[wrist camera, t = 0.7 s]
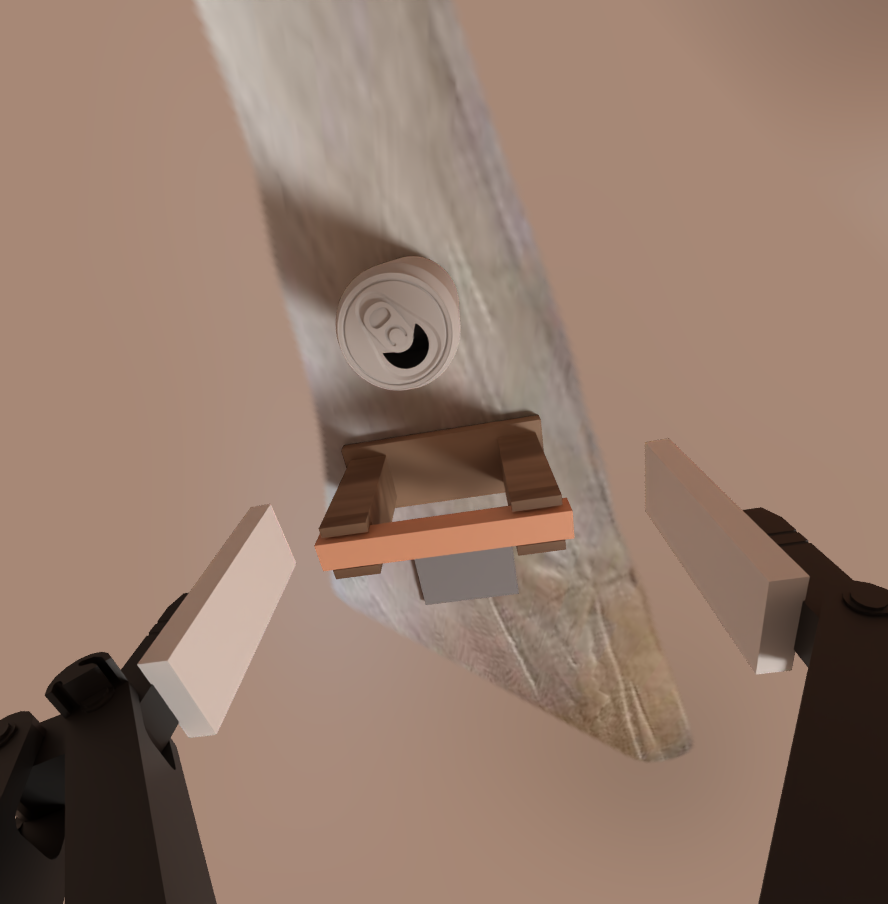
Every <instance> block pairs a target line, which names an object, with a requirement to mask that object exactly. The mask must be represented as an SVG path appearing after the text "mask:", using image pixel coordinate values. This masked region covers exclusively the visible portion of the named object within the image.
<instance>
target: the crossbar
mask: <svg viewBox="0 0 888 904" xmlns="http://www.w3.org/2000/svg"><path fill="white" fill-rule="evenodd" d="M572 538H574V527H573V513H572V509H571V506H570V504H569V502H568V500H567V498H562V505H559V506H551V507H544V508H537V509H530V510H522V511H515V512H512V507H511V506H504V507H497V508H490V509H483V510H476V511H468V512H461V513H454V514H447V515H440V516H433V517H425V518H418V519H411V520H404V521H397V522H390V523H382V524H375V525H370V527H369V531H368V532H363V533H356V534H349V535H342V536H334V537H327V538H322V537H321V534H320V535H319V537H318V539H317V541H316V543H315V549H316V552H317V555H318V557H319V560H320V563H321V566H322V569H323V571H328V570H336V569H344V568H351V567H359V566H366V565H374V564H382V563H389V562H397V561H404V560H412V559H420V558H427V557H435V556H443V555H450V554H458V553H465V552H473V551H481V550H488V549H496V548H503V547H511V546H519V545H526V544H534V543H541V542H549V541H557V540H564V539H572Z"/></svg>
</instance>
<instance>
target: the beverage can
mask: <svg viewBox="0 0 888 904" xmlns="http://www.w3.org/2000/svg"><path fill="white" fill-rule="evenodd" d="M460 330H461V328H460V311H459V297H458V292H457V289H456V286H455V284H454V282H453V280H452V278H451V277H450V275H449V274H448V273H447V272H446V271H445V270H444V269H443V268H442V267H441V266H440V265H438V264H437V263H435V262H433V261H431V260H429V259H426V258H423V257H418V256H407V257H402V258H398V259H395V260H392V261H389V262H386V263H383V264H379V265H376V266H374V267H371V268H369V269H367V270H365V271H364V272H362V273H361V274H359V275H358V276H357V277H356V278H355V279H353V280H352V282H351V283H350V284H349V285H348V286H347V288H346V289H345V291H344V293H343V295H342V297H341V299H340V302H339V305H338V308H337V313H336V334H337V339H338V343H339V345H340V348H341V351H342V353H343V355H344V357H345V359H346V361H347V362H348V364H349V365H350V367H351V368H352V369H353V370H354V371H355V372H356V373H357V374H358V375H359V376H360V377H361V378H363V379H364V380H366V381H367V382H369V383H370V384H372V385H375V386H377V387H380V388H384V389H388V390H408V389H414V388H418V387H422V386H424V385H426V384H428V383H430V382H432V381H433V380H435V379H436V378H438V377H439V376H440V375H441V374H442V373H443V372H444V371H445V370H446V369H447V368H448V366H449V365H450V363H451V362H452V360H453V358H454V356H455V354H456V351H457V348H458V345H459V341H460Z"/></svg>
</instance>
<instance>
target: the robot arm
mask: <svg viewBox="0 0 888 904" xmlns="http://www.w3.org/2000/svg"><path fill="white" fill-rule="evenodd" d="M645 507H646V508H645V511H646V513H647V514H648V515H649V517H650V518H651V520H652V522H653V523H654V524H655V526H656V527H657V529H658V530H659V532H660V533H661V535H662V536H663V538H664V539H665V541H666V542H667V544H668V545H669V547H670V548H671V549H672V551H673V553H674V554H675V555H676V557H677V558H678V560H679V561H680V563H681V564H682V566H683V567H684V569H685V570H686V572H687V573H688V575H689V576H690V578H691V579H692V581H693V582H694V584H695V585H696V587H697V588H698V590H699V591H700V592H701V594H702V595H703V597H704V598H705V600H706V601H707V603H708V604H709V606H710V607H711V609H712V610H713V612H714V613H715V614H716V616H717V618H718V619H719V621H720V622H721V624H722V625H723V626H724V628H725V630H726V631H727V632H728V634H729V635H730V637H731V638H732V640H733V641H734V643H735V644H736V646H737V647H738V649H739V650H740V652H741V653H742V655H743V656H744V658H745V659H746V661H747V662H748V664H749V665H750V666H751V668H752V669H753V671H754V672H755V674H763V673H772V672H781V671H790V670H792V666H793V661H794V655H795V652H796V653H797V654H798V655H799V657H800V658H801V659H802V660H803V662H804V663H805V664H806V665H807V667H808V672H807V676H806V681H805V686H804V690H803V695H802V700H801V705H800V709H799V714H798V719H797V724H796V728H795V733H794V738H793V742H792V747H791V752H790V756H789V761H788V766H787V771H786V775H785V780H784V785H783V790H782V794H781V799H780V804H779V809H778V813H777V818H776V823H775V827H774V832H773V837H772V842H771V846H770V851H769V856H768V860H767V865H766V870H765V874H764V879H763V884H762V889H761V894H760V898H759V904H888V590H887V589H885V588H882V587H879V586H876V585H873V584H870V583H866V582H860V581H854V580H852V579H851V578H850V577H849V576H848V575H847V574H845V573H844V572H843V571H842V570H841V569H840V568H839V567H838V566H836V565H835V564H834V563H833V562H832V561H831V560H830V559H829V558H827V557H826V556H825V555H824V554H823V553H822V552H820V551H819V550H818V549H817V548H816V547H815V546H814V545H812V543H808V540H807V539H806V538H805V537H804V536H802V535H801V534H800V533H799V532H798V533H797V532H796V529H795V528H793V527H792V526H791V525H790V524H789V523H788V522H787V521H786V520H784V519H783V518H782V517H780V516H778V515H776V514H774V513H772V512H770V511H768V510H766V509H764V508H754V509H747V510H742V509H741V508H740V507H738V506H737V505H736V504H735V503H734V502H733V501H732V500H731V499H730V498H729V497H728V496H727V495H726V494H725V493H724V492H723V491H722V490H721V489H720V488H719V487H718V486H717V485H716V484H715V483H714V482H713V481H712V480H711V479H710V478H709V477H708V476H707V475H706V474H705V473H704V472H703V471H702V470H701V469H700V468H698V466H697V465H696V464H695V463H694V462H693V461H692V460H691V459H689V458H688V457H687V456H686V455H685V454H684V453H683V452H682V451H681V450H680V449H679V448H678V447H677V446H676V445H675V444H674V443H673V442H672V441H671V440H670V439H669V438H668V439H661V440H655V441H649V442H645ZM295 565H296V562H295V559H294V557H293V555H292V552H291V550H290V547H289V545H288V543H287V541H286V538H285V536H284V534H283V531H282V529H281V526H280V524H279V522H278V520H277V518H276V515H275V512H274V510H273V508H272V506H271V504H267V505H261V506H255V507H251V508H250V509H249V511H248V512H247V513H246V515H245V516H244V517H243V519H242V520H241V522H240V523H239V524H238V526H237V527H236V529H235V530H234V531H233V533H232V534H231V535H230V537H229V538H228V539H227V541H226V542H225V544H224V545H223V546H222V548H221V549H220V551H219V552H218V554H217V555H216V556H215V557H214V559H213V560H212V562H211V563H210V564H209V566H208V567H207V569H206V570H205V571H204V573H203V574H202V576H201V577H200V578H199V580H198V581H197V582H196V584H195V585H194V586H193V588H192V589H191V591H190V592H189V593H185V594H183V595H181V596H180V597H179V598H178V599H177V600H176V601H175V602H173V603H172V604H171V605H170V606H169V607H168V608H167V609H166V611H165V612H164V613H163V615H162V616H161V617H160V619H159V620H158V623H157V624H155V625H154V627H153V628H152V629H151V631H150V632H149V636H146V637H145V639H144V640H143V641H142V643H141V644H140V645H139V647H138V648H137V649H136V651H135V652H134V653H133V655H132V656H131V657H130V659H129V660H128V661H127V663H126V664H125V665H124V667H123V668H122V669H121V670H120V668H119V667H118V666H117V665H116V663H115V662H114V660H113V659H112V658H111V656H110V655H109V654H108V653H105V652H99V653H94V654H90V655H88V656H85V657H83V658H81V659H79V660H77V661H76V662H74V663H73V664H71V665H70V666H68V667H66V668H65V669H64V670H63V671H62V672H61V673H60V674H58V675H57V676H56V677H55V678H54V680H53V681H52V682H51V684H50V685H49V686H48V688H47V690H46V693H45V696H46V698H48V700H49V701H50V702H51V703H52V704H53V705H54V707H55V708H56V709H57V710H58V711H59V712H60V713H61V715H58V716H56V717H53V718H50V719H48V720H46V721H43V722H40V723H39V721H38V720H37V719H36V718H35V717H34V716H33V715H32V714H31V713H30V712H29V711H26V712H25V711H20V712H18V713H14V714H11V715H9V716H7V717H5V718H3V719H2V720H0V904H63V901H64V897H65V904H217V903H216V899H215V896H214V892H213V888H212V884H211V880H210V876H209V872H208V868H207V864H206V860H205V856H204V853H203V849H202V845H201V841H200V837H199V833H198V829H197V825H196V821H195V817H194V813H193V809H192V805H191V801H190V798H189V794H188V790H187V786H186V783H185V778H184V774H183V771H182V766H181V763H180V758H179V755H178V751H177V747H176V745H175V743H174V742H173V741H172V739H171V736H172V734H173V732H174V730H175V728H176V727H177V725H178V723H179V725H180V726H181V727H182V729H183V730H184V732H185V733H186V735H187V736H188V737H189V738H191V737H200V736H209V735H216V734H217V732H218V730H219V728H220V726H221V724H222V721H223V720H224V717H225V715H226V713H227V711H228V709H229V707H230V705H231V702H232V700H233V698H234V696H235V693H236V691H237V690H238V687H239V685H240V683H241V681H242V679H243V677H244V675H245V672H246V670H247V668H248V666H249V664H250V662H251V659H252V657H253V655H254V653H255V651H256V649H257V647H258V644H259V642H260V640H261V638H262V636H263V634H264V632H265V630H266V627H267V625H268V623H269V621H270V619H271V616H272V614H273V612H274V610H275V608H276V606H277V604H278V601H279V600H280V597H281V595H282V593H283V591H284V589H285V587H286V585H287V582H288V580H289V578H290V576H291V574H292V572H293V570H294V567H295ZM15 816H16V819H15Z"/></svg>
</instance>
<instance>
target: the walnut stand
mask: <svg viewBox="0 0 888 904" xmlns="http://www.w3.org/2000/svg"><path fill="white" fill-rule="evenodd" d="M341 451H342V454H343V458H344V461H345V464H346V468H347V469H346V471H345V474H344V476H343V478H342V480H341V482H340V484H339V486H338V489H337V491H336V493H335V495H334V497H333V499H332V501H331V504H330V506H329V508H328V510H327V512H326V514H325V517H324V519H323V521H322V523H321V525H320V527H319V531H320V534H321V537H322V538H327V537H334V536H342V535H349V534H356V533H363V532H368V531H369V527H370V525H375V524H382V523H390V522H392V518H393V514H394V509H395V508H398V507H405V506H412V505H419V504H426V503H433V502H440V501H447V500H454V499H461V498H468V497H475V496H482V495H490V494H497V493H504V492H506V497H507V502H508V506H511V507H512V512H515V511H522V510H530V509H537V508H544V507H551V506H559V505H562V495H561V492H560V490H559V487H558V485H557V483H556V480H555V478H554V476H553V473H552V471H551V468H550V466H549V464H548V461H547V459H546V456H545V454H544V450H543V439H542V429H541V419H540V417H539V415H535V416H528V417H522V418H516V419H509V420H503V421H496V422H490V423H484V424H477V425H471V426H465V427H458V428H452V429H445V430H439V431H433V432H426V433H420V434H414V435H407V436H401V437H394V438H388V439H382V440H375V441H369V442H363V443H356V444H350V445H344V446H343V448H342V450H341ZM516 547H517V552H518V556H519V555H527V554H534V553H542V552H550V551H558V550H565V549H566V543H565V539H564V540H557V541H549V542H541V543H534V544H526V545H519V546H516ZM382 564H383V563H382ZM382 564H374V565H366V566H359V567H351V568H344V569H336V570H333V572H334V574H335V577H336V579H341V578H349V577H357V576H364V575H372V574H380V573H381V569H382Z"/></svg>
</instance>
